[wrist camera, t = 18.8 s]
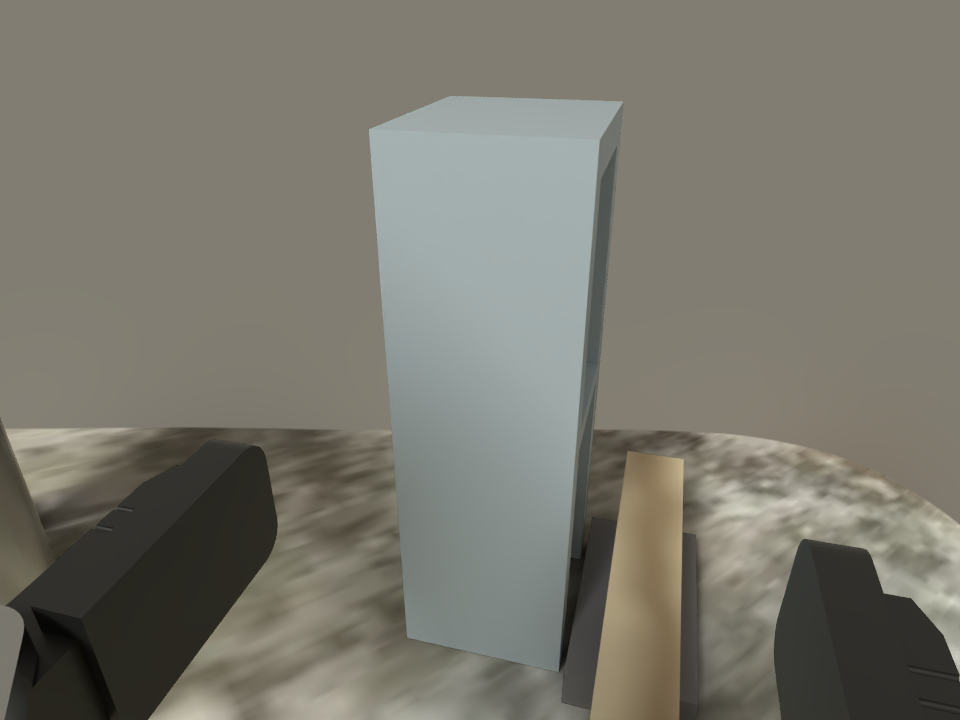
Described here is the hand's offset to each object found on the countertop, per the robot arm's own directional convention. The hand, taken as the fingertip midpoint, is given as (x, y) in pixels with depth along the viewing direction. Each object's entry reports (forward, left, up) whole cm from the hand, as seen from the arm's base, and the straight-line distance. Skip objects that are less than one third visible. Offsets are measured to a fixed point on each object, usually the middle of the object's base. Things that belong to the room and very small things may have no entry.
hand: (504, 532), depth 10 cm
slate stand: (-6, +27, -30) cm, 41 cm away
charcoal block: (+3, +26, -30) cm, 40 cm away
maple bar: (+3, +23, -28) cm, 36 cm away
